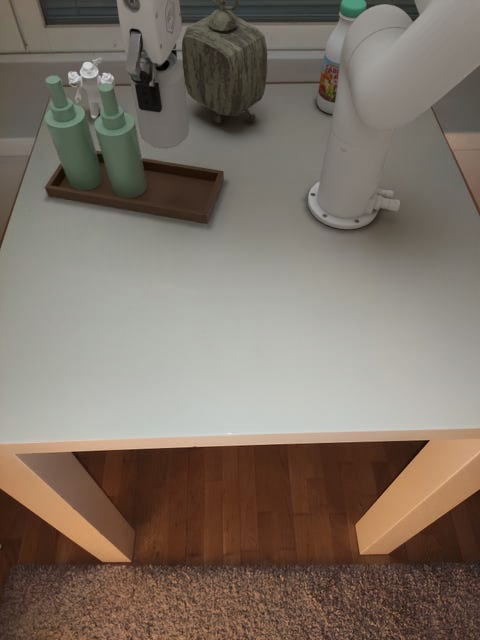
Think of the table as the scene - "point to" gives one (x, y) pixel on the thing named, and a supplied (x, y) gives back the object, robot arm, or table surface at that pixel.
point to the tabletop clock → (225, 62)
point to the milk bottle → (336, 54)
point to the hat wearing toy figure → (90, 84)
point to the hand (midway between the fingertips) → (159, 92)
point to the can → (165, 107)
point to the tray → (152, 190)
